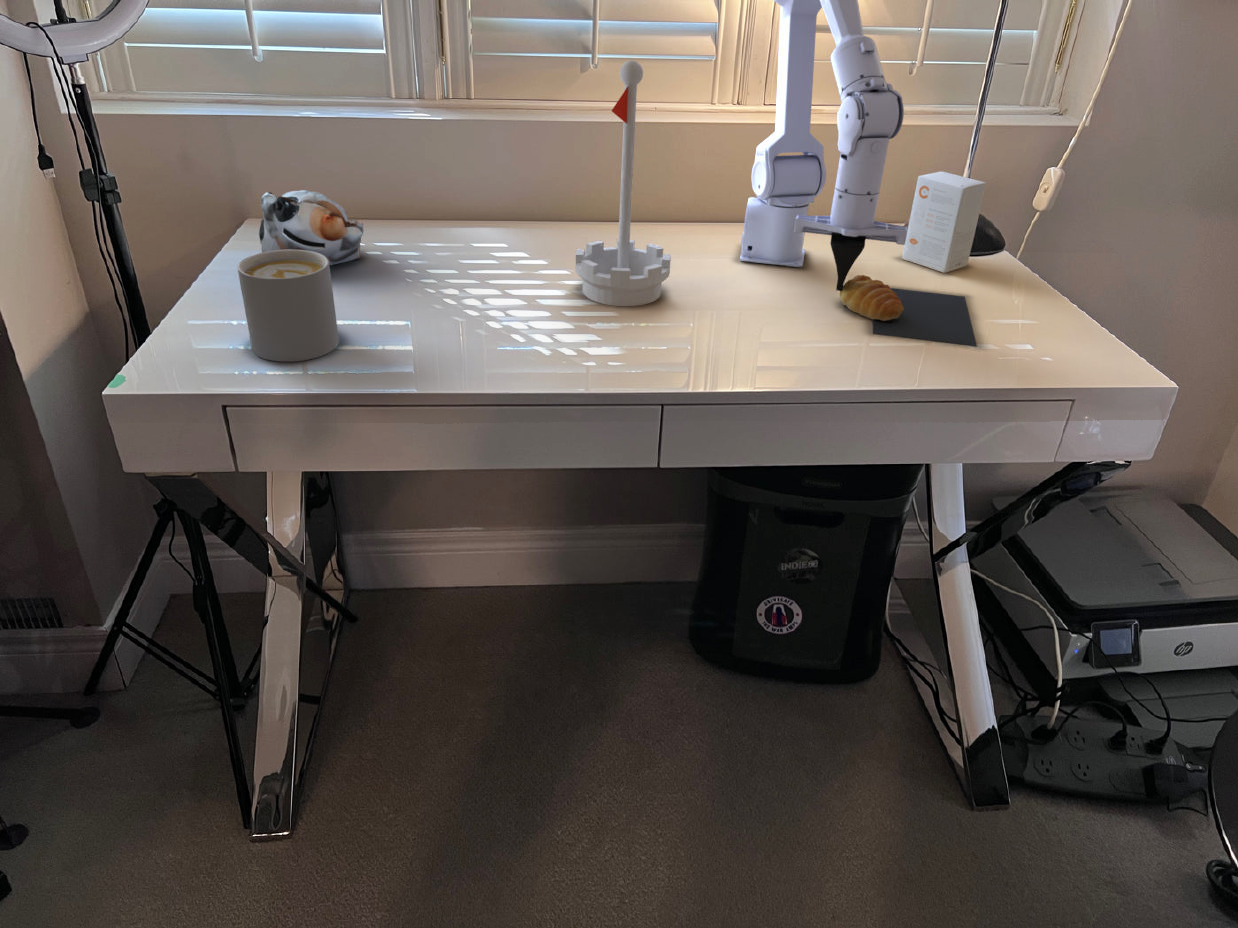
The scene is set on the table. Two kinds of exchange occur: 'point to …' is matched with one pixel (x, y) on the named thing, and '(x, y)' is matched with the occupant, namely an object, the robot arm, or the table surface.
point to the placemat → (929, 318)
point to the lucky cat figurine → (309, 226)
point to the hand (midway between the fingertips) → (839, 288)
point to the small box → (943, 221)
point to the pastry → (871, 298)
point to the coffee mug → (289, 304)
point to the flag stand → (624, 229)
